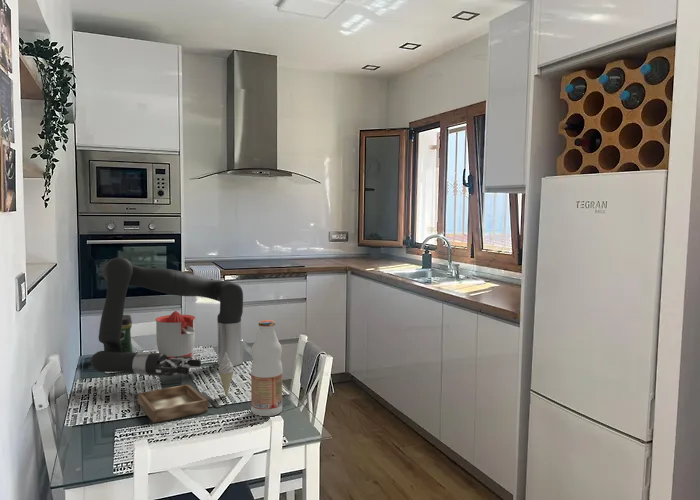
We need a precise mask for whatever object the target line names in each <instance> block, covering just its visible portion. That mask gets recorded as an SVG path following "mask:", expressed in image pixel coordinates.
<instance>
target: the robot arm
mask: <svg viewBox="0 0 700 500" xmlns="http://www.w3.org/2000/svg"><path fill="white" fill-rule="evenodd" d="M101 276H102V277H103V279H104V280H105V282H106V296H105V302H104V305H103V310H102V313H101V318H100V322H99V330H98V342H99V343H101V344H103V350H100V351H96V352H95V353H94V354H93V355H92V356H91V358H90V365H91V368H92V369H93V370H95V371H96V372H99V373H100V372H101V373H116V372H117V373H125V374H137V375H142V376H152V377H153V376H154V377H162V376H168V377H169V376H170V377H172V376H174V375H178V374H180V375H189V373H190V367H197V368H198V367H201V366H202V360H201V359H193V357H192V356H191V357H183V356H176V357H175V358H170V359H168V358H167V356H166V354H163V353H159V352H147V351H146V352H135V351H133V352H125V353H122V347H121V341H120V337H121V329H122V321H123V315H124V310H125V302H126V297H127V293H128V287H129V286H132V287H140V288H143V289H144V288H145V289H148V290H151V291H155V292H159V293H163V294H169V295H174V296H179V297H200V298H206V299H209V300H210V299H211V300H214V301H217V302H219V313H218V314H217V319H216V320H217V366H219V365H220V364H221V362H222V358H223V357H224V354H225V351H226V353H227V355H228V357H229V359H230V362H231V363H232V365H233V367H237V366H239V365H242V364H244V340H243V339H242V316H243V313H244V310H243V309H244V308H243V307H244V292H243V289H242V287H241V286H240V285H239V284H238V283H235V282H233V281H231V280H217V279H209V278H205V277H201V276H199V275H197V274H196V275H195V274H192V273H190V272H189V273H188V272H186V271H181V270H176V269H172V268H171V269H170V268H157V267H156V268H155V267H154V268H153V267H143V266H139V265H137V264H136V265H135V264H132V262H131V261H129V260H128V259H127V258H125V257H121V256H119V257H114V258H112V259H110V260H108V261H107V262H106V263H105V264H104V265H103V266H102V269H101Z"/></svg>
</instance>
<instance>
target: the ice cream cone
mask: <svg viewBox="0 0 700 500" xmlns="http://www.w3.org/2000/svg"><path fill="white" fill-rule="evenodd" d="M234 372H235V370H234V366H233V365H232V363H231V362H230V359H229V357H228V355H227V353H226V351H225V354H224V357H223V358H222V362H221V364H220V365H218V374H219V378H220V381H221V385H222V389H223V391H224V395H225V397H227V396H228V394H229V389H230V386H231V384H232V383H231V382H232V379H233V375H234Z"/></svg>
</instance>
